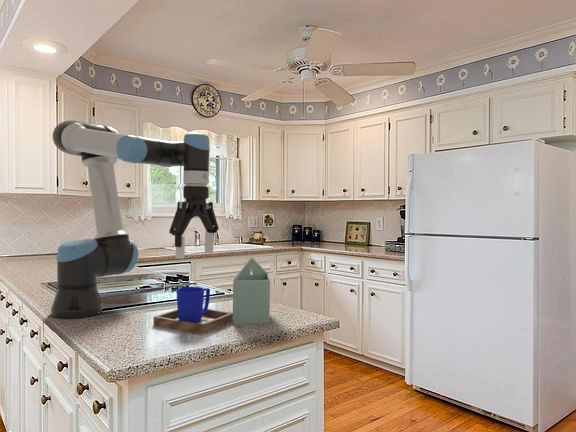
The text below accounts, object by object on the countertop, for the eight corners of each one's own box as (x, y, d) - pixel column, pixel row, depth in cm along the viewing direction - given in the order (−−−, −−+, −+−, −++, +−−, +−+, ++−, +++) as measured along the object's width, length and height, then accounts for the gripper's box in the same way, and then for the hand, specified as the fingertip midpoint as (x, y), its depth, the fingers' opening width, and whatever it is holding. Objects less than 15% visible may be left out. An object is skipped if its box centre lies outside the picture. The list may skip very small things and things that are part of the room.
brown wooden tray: (153, 325, 131) (153, 316, 131) (188, 313, 145) (188, 305, 145) (201, 334, 123) (202, 325, 123) (233, 321, 137) (234, 312, 137)
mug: (218, 318, 137) (218, 287, 137) (189, 327, 127) (190, 293, 126) (199, 314, 141) (199, 283, 141) (170, 323, 131) (170, 289, 131)
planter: (251, 329, 129) (252, 262, 129) (231, 324, 134) (233, 259, 133) (285, 317, 142) (286, 257, 142) (266, 313, 147) (267, 255, 146)
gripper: (177, 184, 120) (176, 261, 121) (230, 187, 142) (228, 252, 143) (157, 184, 123) (156, 259, 124) (211, 186, 145) (210, 250, 146)
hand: (195, 255), depth 134 cm, fingers open, 13 cm apart
